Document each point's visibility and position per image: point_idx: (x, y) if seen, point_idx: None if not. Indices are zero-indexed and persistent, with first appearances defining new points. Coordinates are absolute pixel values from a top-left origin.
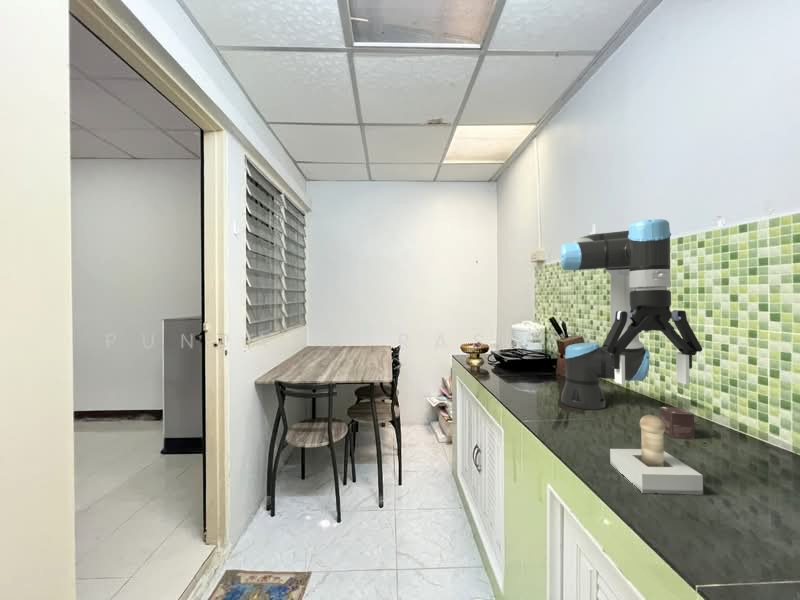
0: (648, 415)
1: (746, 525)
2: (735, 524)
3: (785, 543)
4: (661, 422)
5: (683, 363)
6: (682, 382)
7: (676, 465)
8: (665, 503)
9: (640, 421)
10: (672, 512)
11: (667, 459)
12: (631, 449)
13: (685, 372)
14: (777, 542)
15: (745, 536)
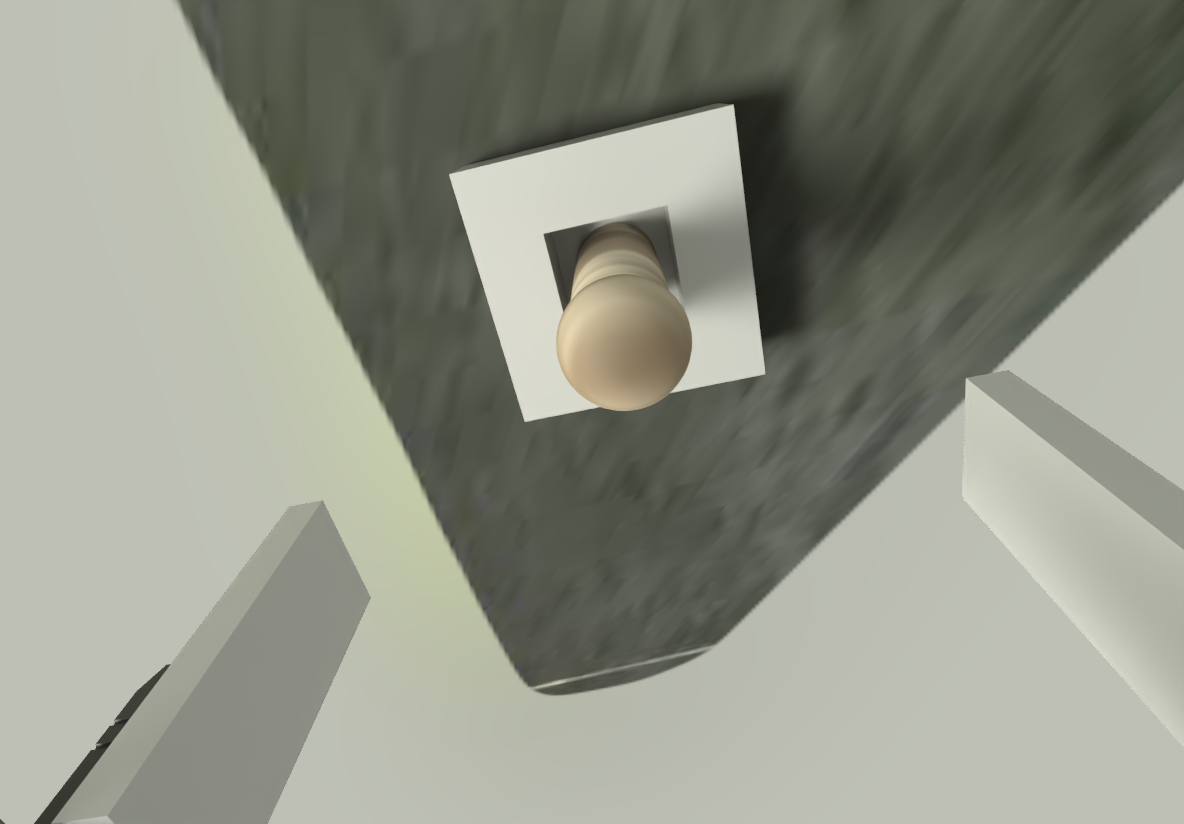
0: (605, 364)
1: (764, 489)
2: (736, 492)
3: (806, 540)
4: (662, 397)
5: (1130, 653)
6: (969, 464)
7: (706, 305)
8: (586, 432)
9: (558, 345)
10: (585, 476)
11: (698, 244)
12: (562, 152)
13: (1043, 585)
14: (788, 541)
15: (724, 536)
